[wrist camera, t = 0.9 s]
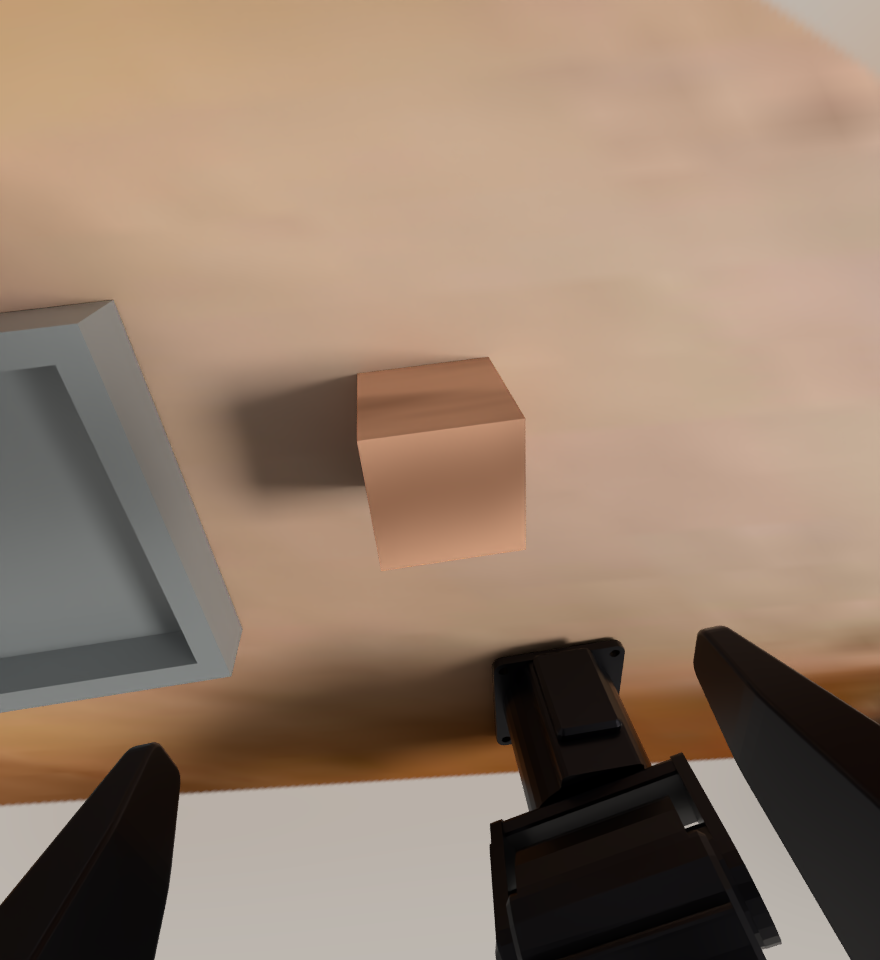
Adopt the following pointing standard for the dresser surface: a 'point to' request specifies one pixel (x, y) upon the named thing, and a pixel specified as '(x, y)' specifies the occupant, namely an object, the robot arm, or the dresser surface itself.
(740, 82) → the dresser surface
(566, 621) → the dresser surface
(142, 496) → the tray
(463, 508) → the block
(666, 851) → the robot arm
